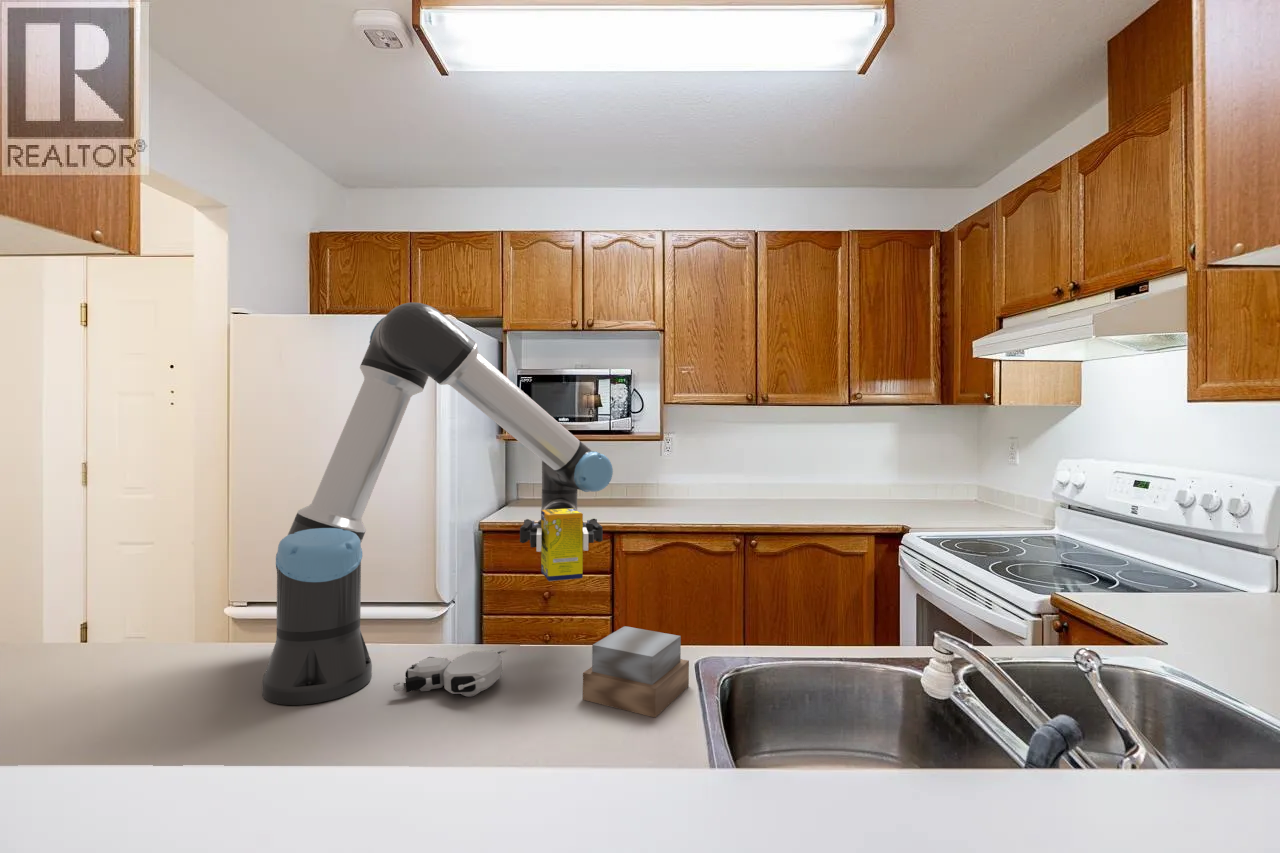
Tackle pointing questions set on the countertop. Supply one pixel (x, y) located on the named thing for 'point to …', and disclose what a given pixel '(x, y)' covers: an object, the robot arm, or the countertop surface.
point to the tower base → (636, 691)
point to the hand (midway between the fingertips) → (562, 542)
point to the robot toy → (455, 673)
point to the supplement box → (562, 544)
